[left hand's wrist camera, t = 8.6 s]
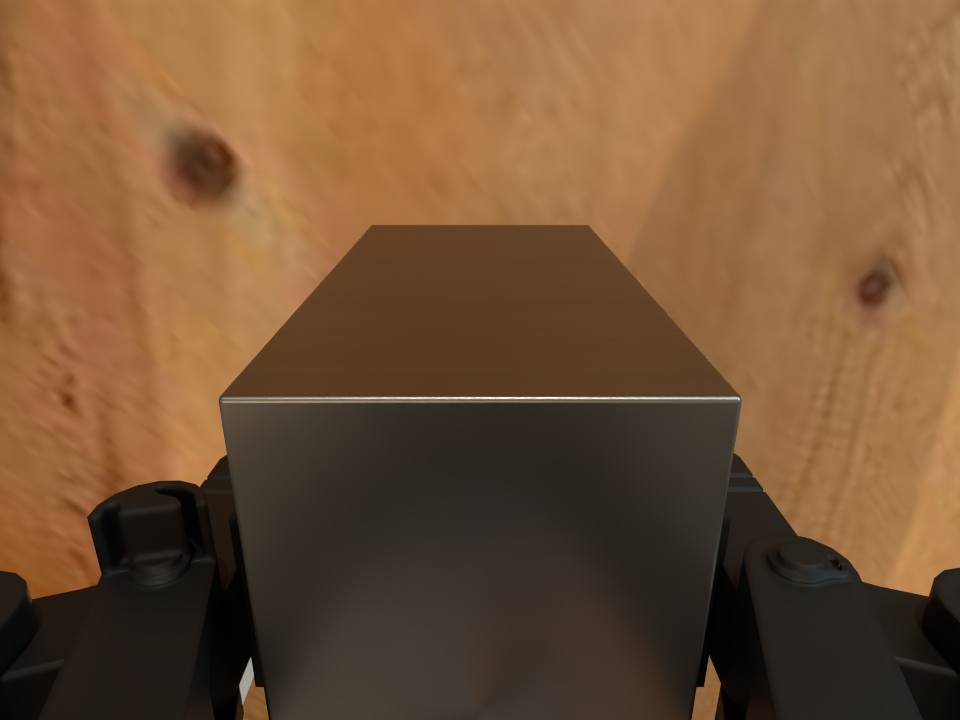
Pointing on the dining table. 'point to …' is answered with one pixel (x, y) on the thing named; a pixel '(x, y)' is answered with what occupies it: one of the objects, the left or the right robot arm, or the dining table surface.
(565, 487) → the block
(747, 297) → the dining table surface
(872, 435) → the dining table surface
